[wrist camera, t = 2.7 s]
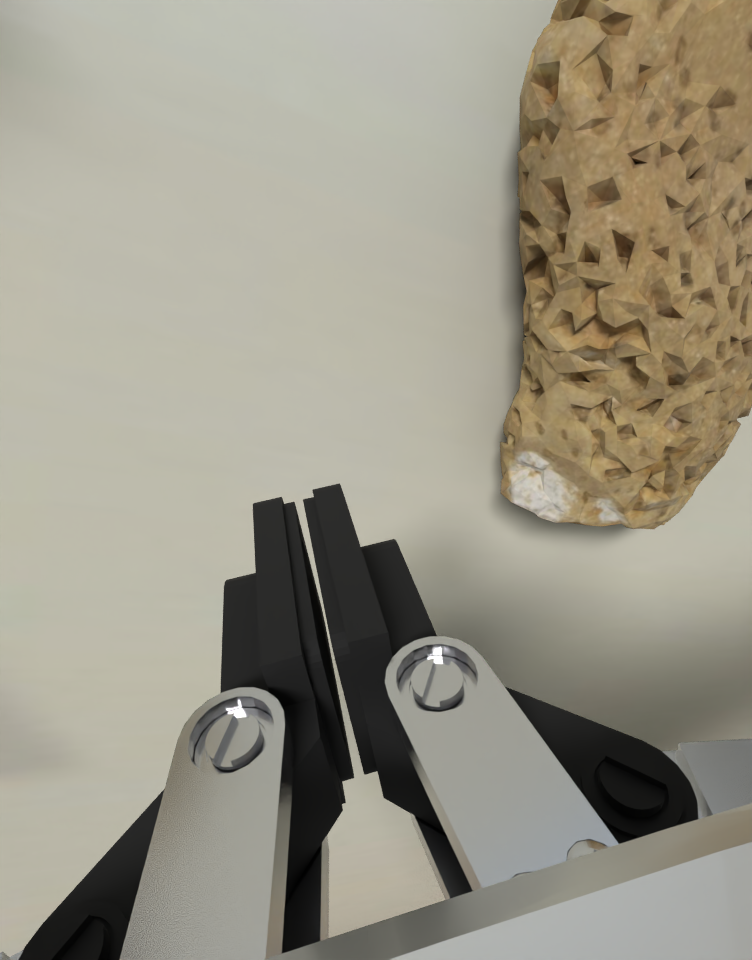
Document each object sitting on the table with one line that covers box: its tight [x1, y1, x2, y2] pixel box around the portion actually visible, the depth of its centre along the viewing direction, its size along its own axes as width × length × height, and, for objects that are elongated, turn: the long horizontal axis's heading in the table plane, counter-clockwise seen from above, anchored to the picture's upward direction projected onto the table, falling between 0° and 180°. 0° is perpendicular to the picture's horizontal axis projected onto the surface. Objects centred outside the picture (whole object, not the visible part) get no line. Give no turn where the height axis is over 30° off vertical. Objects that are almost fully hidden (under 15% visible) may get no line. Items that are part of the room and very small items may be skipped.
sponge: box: [500, 0, 752, 529], centre depth 21 cm, size 13×8×20 cm
